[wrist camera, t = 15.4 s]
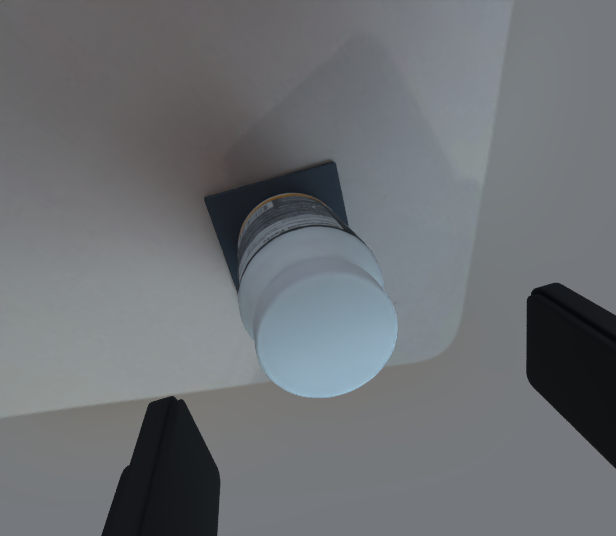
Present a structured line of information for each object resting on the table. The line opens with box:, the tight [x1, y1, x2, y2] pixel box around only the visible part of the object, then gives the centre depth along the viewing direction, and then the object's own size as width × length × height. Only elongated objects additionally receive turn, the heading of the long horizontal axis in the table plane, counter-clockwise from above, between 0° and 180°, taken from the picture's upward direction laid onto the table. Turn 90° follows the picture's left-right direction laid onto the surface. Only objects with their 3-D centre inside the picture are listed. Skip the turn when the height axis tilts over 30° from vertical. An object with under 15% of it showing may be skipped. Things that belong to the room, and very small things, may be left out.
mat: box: [204, 162, 348, 292], centre depth 21 cm, size 7×7×1 cm
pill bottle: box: [238, 193, 398, 398], centre depth 17 cm, size 6×6×10 cm
